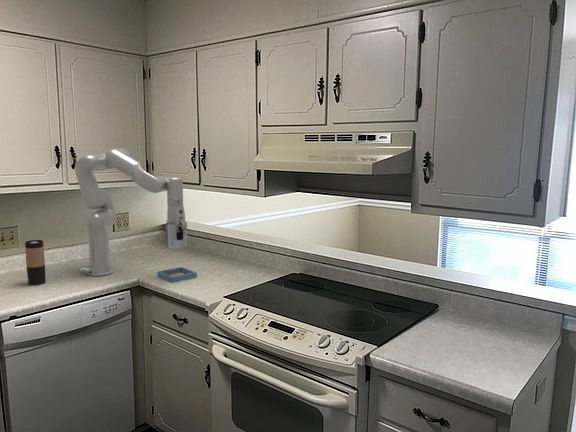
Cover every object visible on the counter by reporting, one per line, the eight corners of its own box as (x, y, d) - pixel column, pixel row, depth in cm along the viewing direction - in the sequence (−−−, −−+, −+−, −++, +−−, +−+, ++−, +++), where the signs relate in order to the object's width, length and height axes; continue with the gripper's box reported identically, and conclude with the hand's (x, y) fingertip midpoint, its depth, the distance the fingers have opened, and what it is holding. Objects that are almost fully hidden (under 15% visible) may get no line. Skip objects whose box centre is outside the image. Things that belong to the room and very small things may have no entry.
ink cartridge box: (185, 244, 236) (185, 216, 233) (188, 247, 231) (187, 218, 228) (165, 246, 232) (165, 217, 229) (167, 249, 227) (167, 219, 224)
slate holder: (171, 282, 223) (171, 277, 223) (157, 276, 234) (157, 271, 233) (196, 277, 233) (196, 272, 233) (182, 271, 243) (182, 266, 243)
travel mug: (26, 282, 220) (23, 241, 217) (44, 279, 225) (41, 239, 222) (29, 286, 214) (26, 244, 211) (48, 283, 219) (45, 241, 216)
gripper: (191, 203, 224) (192, 240, 227) (173, 200, 236) (174, 234, 239) (177, 205, 219) (178, 242, 221) (159, 201, 231) (160, 236, 234)
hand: (176, 238), depth 230 cm, fingers closed on ink cartridge box, 6 cm apart
